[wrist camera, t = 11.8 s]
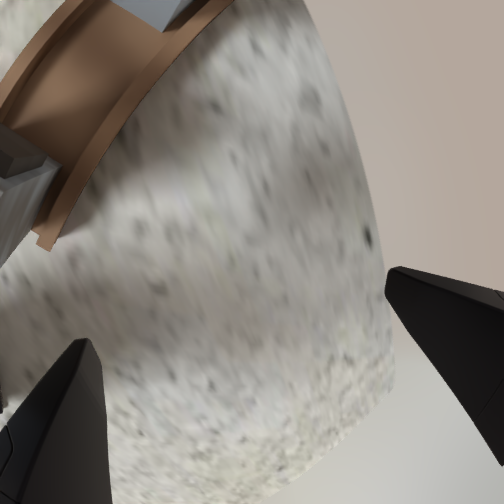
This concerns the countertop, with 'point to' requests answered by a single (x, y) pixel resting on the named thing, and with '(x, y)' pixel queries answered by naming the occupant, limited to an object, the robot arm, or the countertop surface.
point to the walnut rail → (76, 105)
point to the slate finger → (155, 10)
